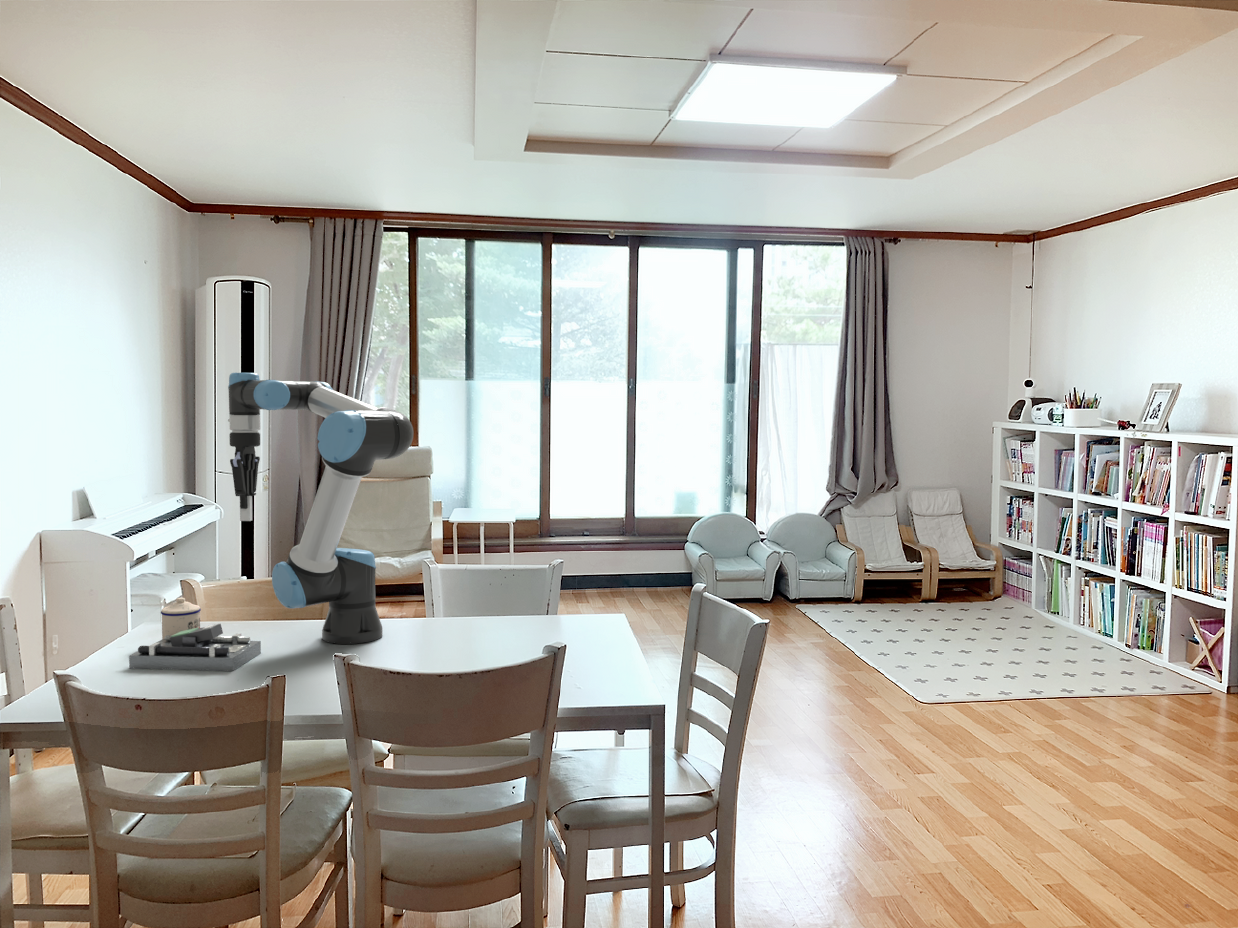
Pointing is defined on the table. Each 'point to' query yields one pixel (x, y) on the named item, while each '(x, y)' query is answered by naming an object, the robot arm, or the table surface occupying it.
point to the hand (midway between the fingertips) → (246, 520)
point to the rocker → (197, 634)
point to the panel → (196, 659)
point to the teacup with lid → (180, 617)
